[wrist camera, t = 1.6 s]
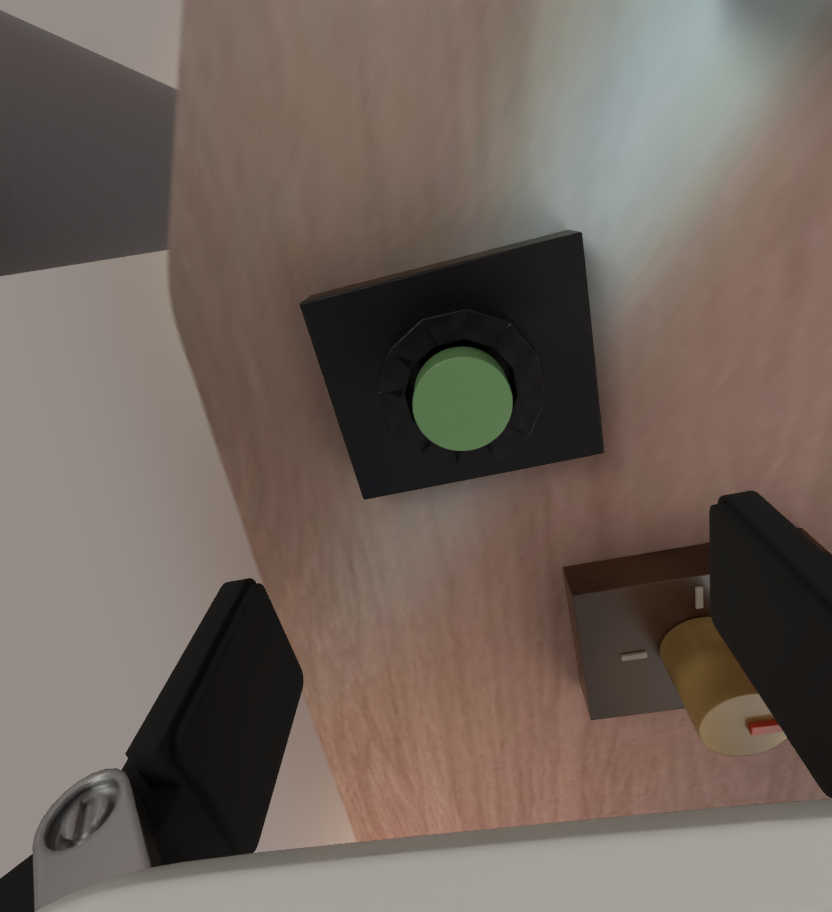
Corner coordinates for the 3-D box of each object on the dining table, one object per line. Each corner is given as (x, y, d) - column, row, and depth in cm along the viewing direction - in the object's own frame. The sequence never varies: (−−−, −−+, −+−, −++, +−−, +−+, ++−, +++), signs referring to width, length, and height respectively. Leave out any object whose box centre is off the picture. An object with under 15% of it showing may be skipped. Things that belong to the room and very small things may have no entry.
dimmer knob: (661, 679, 31) (702, 767, 26) (657, 623, 29) (700, 706, 24) (740, 668, 30) (798, 756, 25) (742, 610, 28) (804, 693, 23)
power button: (426, 443, 23) (425, 460, 22) (404, 357, 22) (401, 369, 20) (514, 424, 23) (520, 441, 21) (498, 335, 21) (504, 346, 20)
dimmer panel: (581, 687, 35) (591, 722, 32) (562, 567, 30) (573, 597, 28) (790, 658, 33) (818, 694, 30) (801, 527, 29) (834, 556, 26)
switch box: (368, 480, 28) (358, 519, 25) (310, 295, 24) (287, 310, 21) (592, 435, 27) (616, 470, 23) (569, 229, 23) (594, 233, 19)
